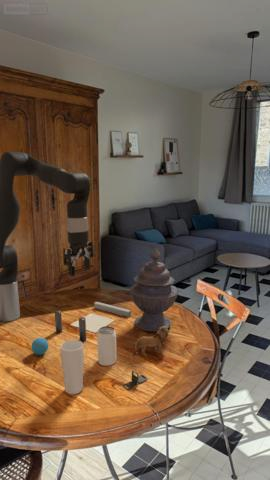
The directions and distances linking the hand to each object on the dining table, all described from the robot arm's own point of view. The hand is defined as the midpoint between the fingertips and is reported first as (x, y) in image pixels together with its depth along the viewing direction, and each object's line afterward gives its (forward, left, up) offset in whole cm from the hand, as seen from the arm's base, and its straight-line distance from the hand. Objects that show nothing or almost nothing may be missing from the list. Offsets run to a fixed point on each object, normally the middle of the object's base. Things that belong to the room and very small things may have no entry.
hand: (79, 272), depth 127 cm
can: (+15, -5, -29) cm, 33 cm away
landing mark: (-9, +16, -29) cm, 34 cm away
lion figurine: (+25, +9, -29) cm, 40 cm away
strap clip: (+30, -10, -29) cm, 43 cm away
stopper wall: (-9, +30, -29) cm, 43 cm away
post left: (-15, +2, -29) cm, 33 cm away
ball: (-9, -14, -26) cm, 30 cm away
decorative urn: (+15, +28, -29) cm, 43 cm away
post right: (-2, +2, -29) cm, 29 cm away
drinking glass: (+16, -23, -29) cm, 40 cm away
